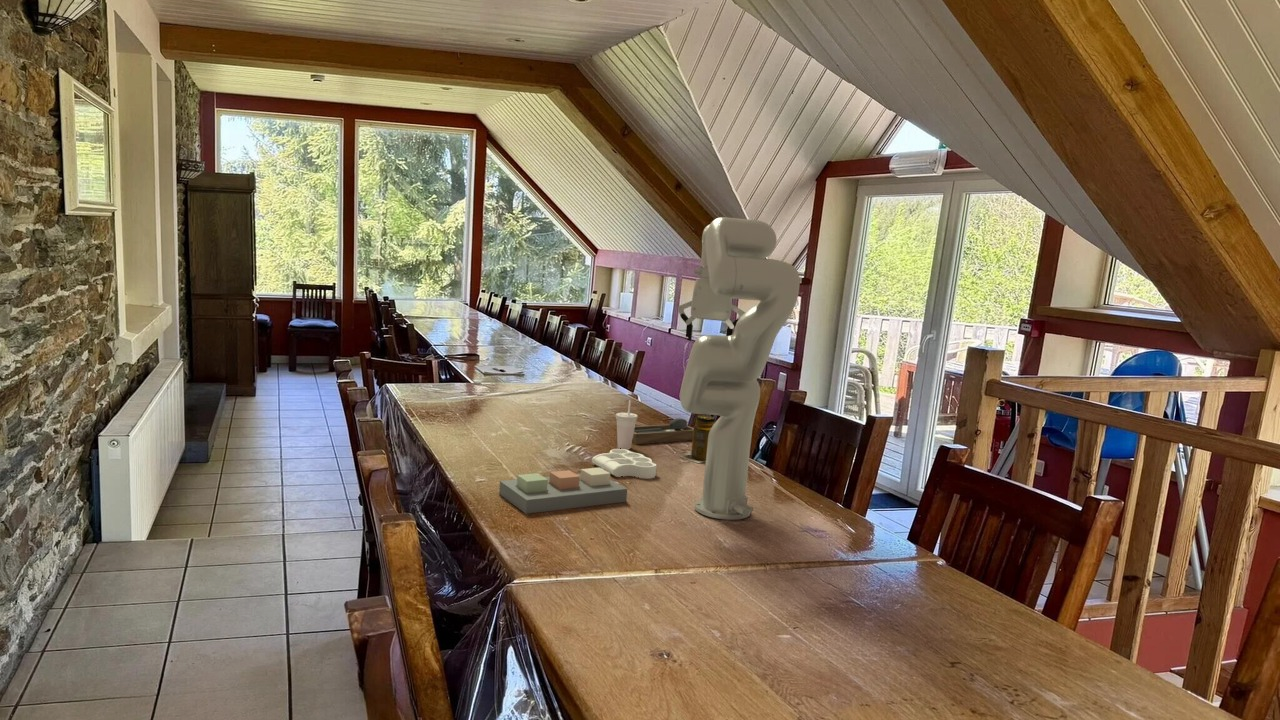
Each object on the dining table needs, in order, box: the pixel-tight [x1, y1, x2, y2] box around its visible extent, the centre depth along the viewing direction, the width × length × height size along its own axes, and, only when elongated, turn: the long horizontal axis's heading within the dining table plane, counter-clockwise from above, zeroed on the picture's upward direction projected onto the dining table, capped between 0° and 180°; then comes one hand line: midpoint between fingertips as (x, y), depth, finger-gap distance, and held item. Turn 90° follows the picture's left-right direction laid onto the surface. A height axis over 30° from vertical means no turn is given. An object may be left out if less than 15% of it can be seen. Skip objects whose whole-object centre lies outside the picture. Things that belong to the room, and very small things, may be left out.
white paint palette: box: [591, 448, 658, 479], centre depth 209 cm, size 3×18×15 cm
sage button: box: [516, 472, 548, 493], centre depth 177 cm, size 5×5×4 cm
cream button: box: [580, 466, 611, 486], centre depth 186 cm, size 5×5×4 cm
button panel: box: [498, 472, 628, 515], centre depth 181 cm, size 14×25×3 cm, turn 123°
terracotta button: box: [549, 469, 580, 490], centre depth 181 cm, size 5×5×4 cm
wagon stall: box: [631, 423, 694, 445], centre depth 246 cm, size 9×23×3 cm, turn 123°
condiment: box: [679, 414, 716, 464], centre depth 226 cm, size 7×8×12 cm
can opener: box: [634, 417, 688, 433], centre depth 246 cm, size 19×5×6 cm, turn 125°
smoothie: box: [615, 399, 639, 450], centre depth 230 cm, size 6×6×14 cm
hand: (708, 342), depth 205 cm, fingers open, 9 cm apart
